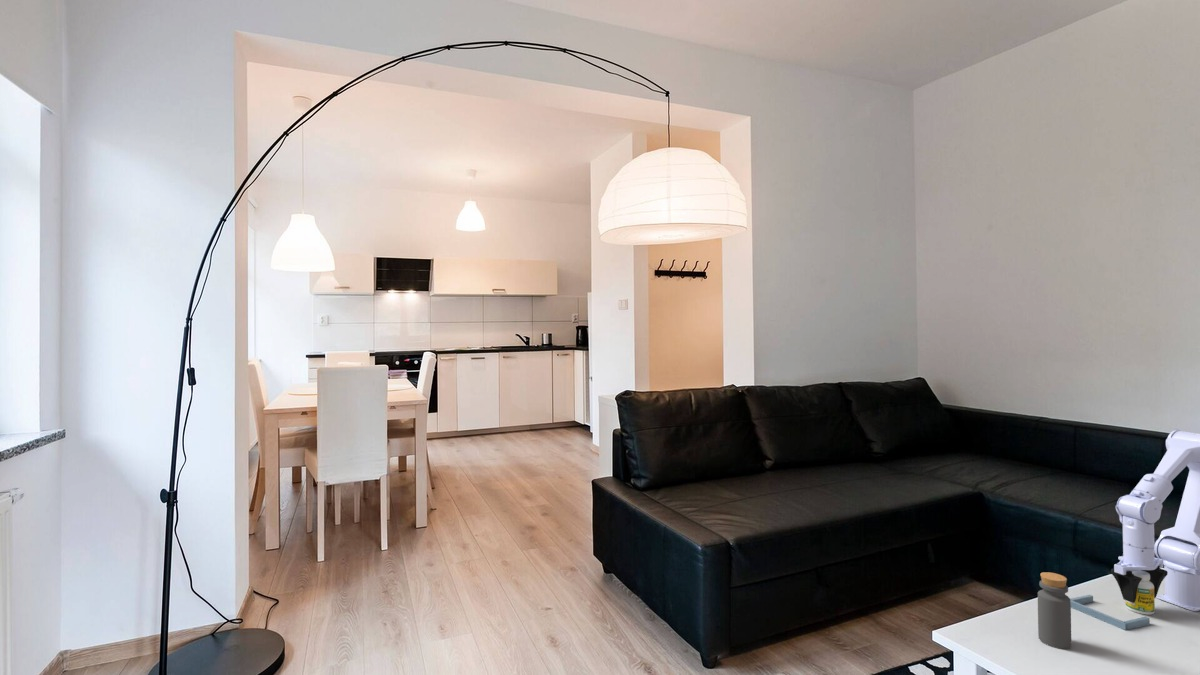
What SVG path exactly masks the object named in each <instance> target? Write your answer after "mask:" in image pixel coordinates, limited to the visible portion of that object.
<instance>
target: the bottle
mask: <svg viewBox="0 0 1200 675" xmlns="http://www.w3.org/2000/svg"><path fill="white" fill-rule="evenodd" d="M1040 579H1041V580H1039V584H1038V585H1039V587H1040V588H1041V589H1040V590H1038V592H1037V628H1038V631H1037V632H1038V639H1040V640H1041V641H1042V642H1041V641H1040V640H1039V641H1040V642H1041V643H1043V642H1044V643H1043V644H1045V643H1046V644H1045V645H1047V644H1048V645H1047V646H1049V645H1050V646H1049V647H1052V646H1054V647H1053V648H1055V647H1057V648H1056V649H1062V650H1063V649H1064V650H1067V649H1071V647H1072V607H1071V602H1070V599H1071V598H1070V596H1068V595H1067V594H1068V592H1069V587H1068V585H1067V581H1068V579H1067V577H1066V576H1064V575H1062V574H1059V573H1055V572H1049V571H1048V572H1046V571H1045V572H1041V573H1040ZM1066 593H1067V594H1066Z"/></svg>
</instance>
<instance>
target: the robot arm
mask: <svg viewBox="0 0 1200 675" xmlns="http://www.w3.org/2000/svg"><path fill="white" fill-rule="evenodd" d="M1165 448H1166V452H1165V453H1164V455H1163V457H1162V459H1161V461H1160V462H1159V463H1158V466H1156V468H1155V470H1154V472H1153V473H1146V474H1145V475H1143V477H1142V478H1141V479H1140V480H1139V482H1138V483H1137V484H1136V486H1135V487H1134V488H1133V489H1132V490H1131V492H1130V493H1129V494H1125V495H1123V496H1120V497H1119V498H1118V500H1117V502H1116V505H1115V511H1116V513H1117V515H1118V517H1119V522H1120V523H1121V524H1122V552H1123V553H1122V555H1121V556H1120V555H1119V556H1118V560H1119V562H1117V563H1115V564H1114V565H1113V568H1111V569H1110V573H1111V575H1112V576H1113V577H1114V579H1115V581H1116V582H1117V583H1116V584H1117V585H1118V587H1119V590H1120V592H1121V593H1120V594H1121V595H1122V598H1123V600H1124V601H1125V600H1127V601H1129V602H1132V603H1134V602H1135V600H1136V594H1137V588H1138V585H1139V583H1140V581H1141V580H1142V578H1140V577H1137V576H1134V574H1132V572H1133V571H1138V570H1142V571H1145V572H1147V573H1149V574H1150V580H1149V581H1150V582H1151V583H1152V584H1153V585H1154V599H1159V600H1162V601H1164V602H1165V603H1166V602H1167V603H1170V604H1172V605H1176V606H1178V607H1180V608H1183V609H1186V610H1189V611H1191V612H1198V611H1200V433H1198V432H1190V431H1184V430H1180V429H1174V430H1172V431H1171V432H1170V433H1169V434H1168V436H1167V438H1166V439H1165ZM1186 467H1187V468H1188V470H1189V471H1188V475H1187V479H1186V482H1185V487H1184V490H1183V493H1182V496H1181V497H1182V498H1181V501H1180V505H1179V509H1178V513H1177V517H1176V520H1175V524H1174V526H1172V527H1169V528H1166V529H1163V530H1162V531H1161V532H1160V534H1159V537H1158V539H1156V541H1155V523H1156V522H1157V521H1159V520H1160V519H1161V518H1160V517H1161V514H1162V509H1163V503H1164V502H1165V501H1166V499H1167V497H1168V496H1169V495H1170V494H1171V492H1172V491H1173V490H1174V485H1173V484H1172V482H1173V480H1174V479H1175V478H1176V477H1177V476H1178V475H1179V474H1180V473H1181V472H1182V471H1183V470H1184V469H1185V468H1186ZM1163 581H1164V594H1163V593H1162V594H1158V592H1159V589H1160V586H1161V584H1162V582H1163Z"/></svg>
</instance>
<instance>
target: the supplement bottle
mask: <svg viewBox="0 0 1200 675" xmlns="http://www.w3.org/2000/svg"><path fill="white" fill-rule="evenodd" d="M1132 574H1134V576H1137V577H1140V578H1142V580H1141V581H1140V583H1139V585H1138V588H1137V594H1136V600H1135V602H1134V603H1132V602H1129V601H1127V600H1124V602H1125V608H1127V609H1128V610H1130V611H1131V612H1134V613H1136V614H1140V615H1145V616H1150V615H1154V613H1155V598H1154V585H1153V584H1152V583H1151V582H1150V581H1149V580H1150V574H1149V573H1147V572H1145V571H1142V570H1138V571H1133V572H1132Z"/></svg>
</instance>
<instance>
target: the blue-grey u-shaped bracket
mask: <svg viewBox="0 0 1200 675" xmlns="http://www.w3.org/2000/svg"><path fill="white" fill-rule="evenodd" d="M1070 602H1071V609H1074V610H1076V611H1079V612H1081V613H1084V614H1086V615H1088V616H1091V617H1094V618H1095V619H1098V620H1099V621H1103V622H1104V623H1107V624H1110V625H1112V626H1114V627H1116V628H1118V629H1121V630H1124V631H1128V630H1131V629H1136V628H1141V627H1144V626H1149V625H1150V622H1151V620H1150V617H1148V616H1143V617H1142V616H1141V617H1138V618H1134V619H1133V618H1132V619H1129V620H1124V621H1123V620H1120V619H1118V618H1116V617H1113V616H1111V615H1108V614H1106V613H1103V612H1101V611H1099V610H1096V609H1094V608H1091V607H1089V606H1086V605H1084V604H1089V603H1093V602H1094V595H1092V594H1087V595H1081V596H1076V597H1072V598H1070Z"/></svg>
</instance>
